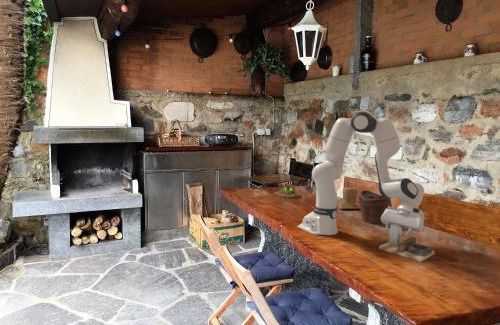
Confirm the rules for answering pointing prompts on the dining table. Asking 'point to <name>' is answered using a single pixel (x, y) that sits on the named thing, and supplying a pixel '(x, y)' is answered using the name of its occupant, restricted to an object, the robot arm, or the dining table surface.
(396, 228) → the grey square block
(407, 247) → the beige board with divider
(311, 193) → the dining table surface
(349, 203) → the tan boot
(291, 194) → the plant
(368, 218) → the brown tapered bucket
